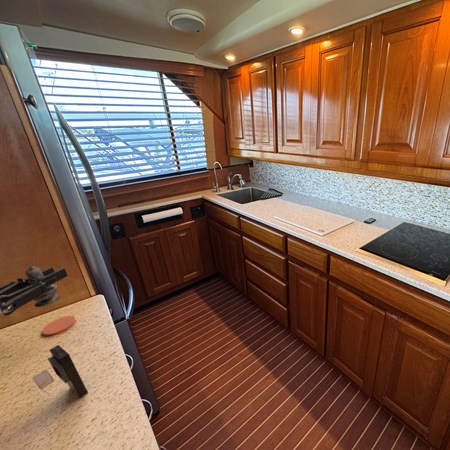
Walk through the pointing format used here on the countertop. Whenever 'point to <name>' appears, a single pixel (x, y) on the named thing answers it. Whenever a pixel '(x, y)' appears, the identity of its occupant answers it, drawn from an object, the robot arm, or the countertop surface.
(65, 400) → the countertop surface
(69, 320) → the coaster
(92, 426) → the countertop surface
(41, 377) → the flush button
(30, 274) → the grey buddha statue
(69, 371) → the flush panel
